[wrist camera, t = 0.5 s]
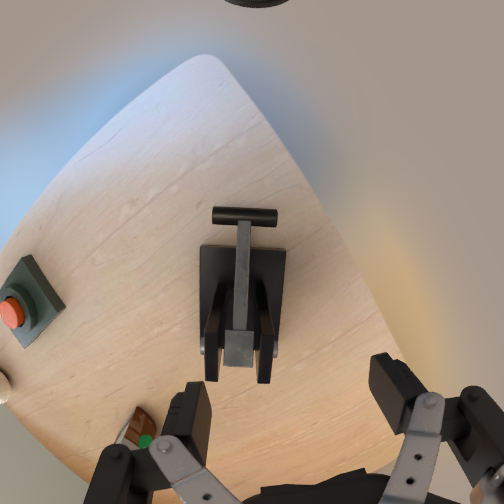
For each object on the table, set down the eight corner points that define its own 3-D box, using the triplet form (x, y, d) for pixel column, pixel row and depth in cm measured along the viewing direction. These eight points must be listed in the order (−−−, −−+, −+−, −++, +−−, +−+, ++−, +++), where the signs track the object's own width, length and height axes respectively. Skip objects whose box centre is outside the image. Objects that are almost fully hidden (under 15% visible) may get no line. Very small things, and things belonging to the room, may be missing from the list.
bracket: (201, 244, 31) (174, 279, 19) (284, 248, 32) (309, 285, 19) (201, 342, 34) (183, 412, 21) (275, 345, 34) (289, 417, 22)
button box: (30, 254, 31) (13, 260, 27) (66, 307, 33) (50, 318, 29) (0, 297, 32) (-15, 305, 28) (31, 343, 34) (18, 354, 30)
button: (12, 291, 28) (5, 295, 27) (28, 315, 29) (21, 320, 27) (3, 305, 29) (-4, 310, 27) (18, 328, 30) (11, 333, 28)
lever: (214, 212, 26) (212, 201, 24) (275, 215, 27) (278, 204, 24) (204, 361, 23) (201, 364, 20) (271, 364, 23) (275, 368, 21)
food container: (147, 453, 39) (134, 495, 29) (116, 437, 38) (97, 477, 28) (176, 420, 37) (163, 470, 27) (140, 400, 36) (119, 448, 26)
